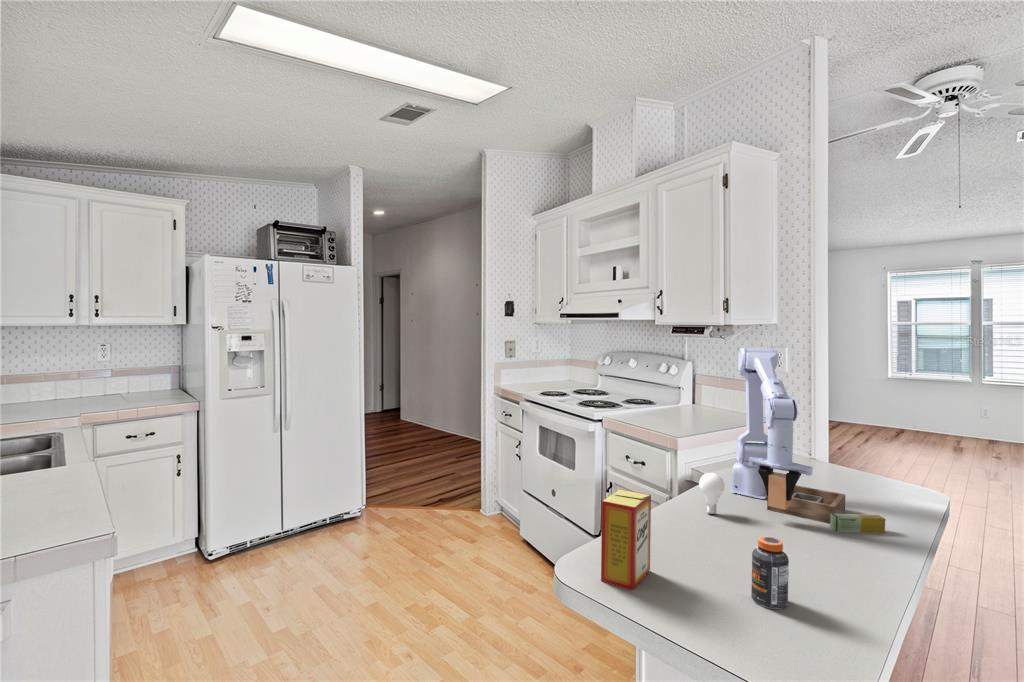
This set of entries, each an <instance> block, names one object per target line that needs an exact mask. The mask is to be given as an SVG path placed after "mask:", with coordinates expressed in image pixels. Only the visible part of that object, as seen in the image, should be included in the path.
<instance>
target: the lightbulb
mask: <svg viewBox="0 0 1024 682" xmlns="http://www.w3.org/2000/svg"><path fill="white" fill-rule="evenodd" d="M698 482H699V483H698V486H699V490H700V492H701V493H702V495H703V496H704V500H705V505H706V506H705V511H706V513H708V514H709V513H710V514H709V515H715V514H716V513H717V511H718V509H717V507H718V503H719V499H720V497H721V495H722V494H723V492H724V491H725V487H726V485H725V481H724V479H723V478H722V476H720V475H719V474H717V473H715V472H706V473H704V474H702V476H700V478H699V481H698Z"/></svg>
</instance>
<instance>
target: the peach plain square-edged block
mask: <svg viewBox="0 0 1024 682" xmlns="http://www.w3.org/2000/svg"><path fill="white" fill-rule="evenodd" d="M786 474H787V473H784V472H783V473H782V472H777V471H773V472H772V473H771V474H769V487H768V506H770V507H775V508H780V509H784V510H785V509H787V508H788V507H789V506H790V501H786V492H787V482H786Z"/></svg>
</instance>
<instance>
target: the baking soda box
mask: <svg viewBox="0 0 1024 682" xmlns="http://www.w3.org/2000/svg"><path fill="white" fill-rule="evenodd" d="M651 508H652V494H648V493H645V492H644V493H643V492H638V491H632V490H628V489H622V488H620V489H618V490H617V491H616V492H614V493H612V494H611V495H609V496H608V497H606V498H604V499H603V500H602V501H601V549H600V551H601V553H600V554H601V555H600V556H601V558H600V559H601V561H600V562H601V564H600V567H601V568H600V570H601V571H600V581H601V582H603V581H605V582H604V583H606V582H608V583H607V584H609V583H611V584H610V585H613V584H614V586H616V585H617V587H620V588H623V589H627V590H630V591H634V590H635V589H637V587H638V586H639V585H640V584H641V582H642V581H643V580H644V579H645V578H644V577H646V576H647V575H648V574H649V573H650V572H649V570H650V571H651V530H652V529H651V525H652V524H651V522H652V521H651V520H652V519H651V518H652V517H651V516H652V515H651V514H652V513H651V511H652V509H651ZM648 572H649V573H648ZM647 573H648V574H647ZM646 574H647V575H646ZM645 575H646V576H645ZM643 578H644V579H643ZM642 579H643V580H642ZM641 580H642V581H641ZM640 581H641V582H640ZM637 585H638V586H637Z"/></svg>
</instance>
